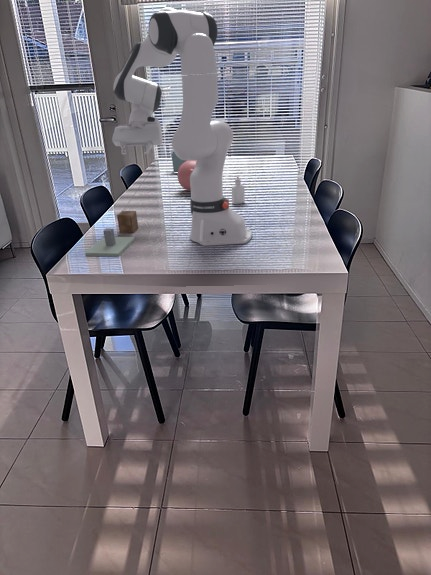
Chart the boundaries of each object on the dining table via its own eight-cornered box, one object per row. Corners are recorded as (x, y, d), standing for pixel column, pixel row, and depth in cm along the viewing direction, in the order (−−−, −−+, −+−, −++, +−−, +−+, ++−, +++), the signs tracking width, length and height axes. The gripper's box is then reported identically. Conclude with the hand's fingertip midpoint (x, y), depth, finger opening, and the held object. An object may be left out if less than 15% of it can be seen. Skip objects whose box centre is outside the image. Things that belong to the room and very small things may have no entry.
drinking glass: (174, 170, 267) (173, 150, 262) (190, 170, 266) (189, 150, 261) (171, 174, 258) (169, 153, 253) (187, 173, 257) (185, 153, 252)
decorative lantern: (179, 198, 206) (176, 165, 200) (178, 188, 224) (175, 158, 217) (211, 196, 207) (209, 163, 201) (207, 186, 225) (206, 156, 218)
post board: (135, 239, 157) (132, 222, 154) (119, 256, 143) (116, 237, 140) (104, 239, 159) (101, 222, 156) (85, 255, 145) (81, 237, 142)
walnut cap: (138, 228, 168) (135, 210, 165) (133, 232, 163) (131, 215, 160) (124, 228, 169) (122, 210, 166) (119, 232, 164) (116, 215, 161)
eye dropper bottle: (232, 201, 196) (231, 175, 191) (244, 201, 196) (244, 175, 190) (231, 204, 192) (230, 177, 187) (244, 204, 192) (243, 177, 186)
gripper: (112, 119, 173) (107, 149, 168) (161, 118, 169) (156, 148, 165) (118, 130, 178) (113, 158, 174) (165, 128, 175) (161, 157, 171)
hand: (134, 153), depth 170 cm, fingers open, 8 cm apart
